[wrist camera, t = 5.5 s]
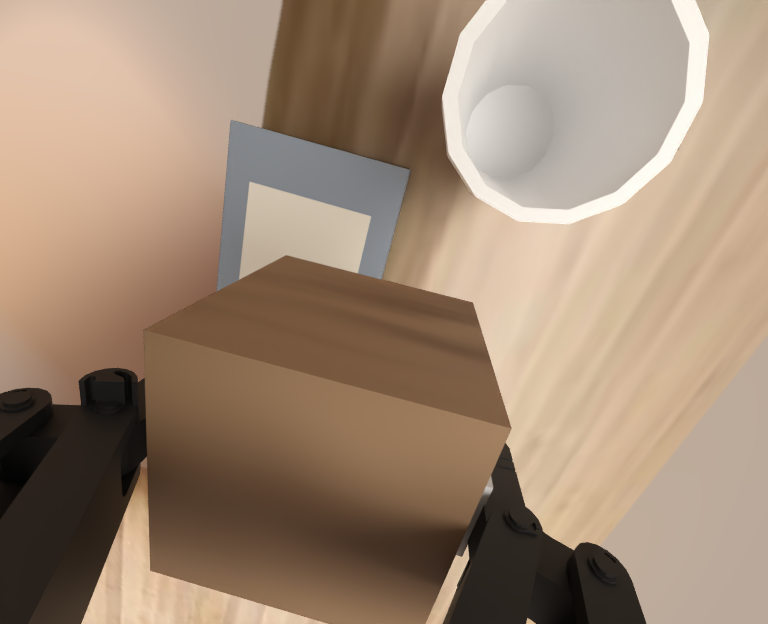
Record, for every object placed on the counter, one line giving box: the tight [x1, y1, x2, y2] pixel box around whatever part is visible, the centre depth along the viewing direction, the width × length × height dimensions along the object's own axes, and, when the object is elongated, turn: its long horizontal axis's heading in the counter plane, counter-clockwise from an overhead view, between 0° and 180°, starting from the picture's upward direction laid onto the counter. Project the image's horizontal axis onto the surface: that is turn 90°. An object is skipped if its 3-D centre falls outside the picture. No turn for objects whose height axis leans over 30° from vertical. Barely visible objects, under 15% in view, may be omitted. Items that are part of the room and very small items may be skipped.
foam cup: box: [442, 0, 709, 224], centre depth 20 cm, size 10×9×13 cm
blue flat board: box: [217, 120, 411, 291], centre depth 31 cm, size 18×14×1 cm
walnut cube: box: [143, 255, 511, 624], centre depth 13 cm, size 8×8×8 cm
